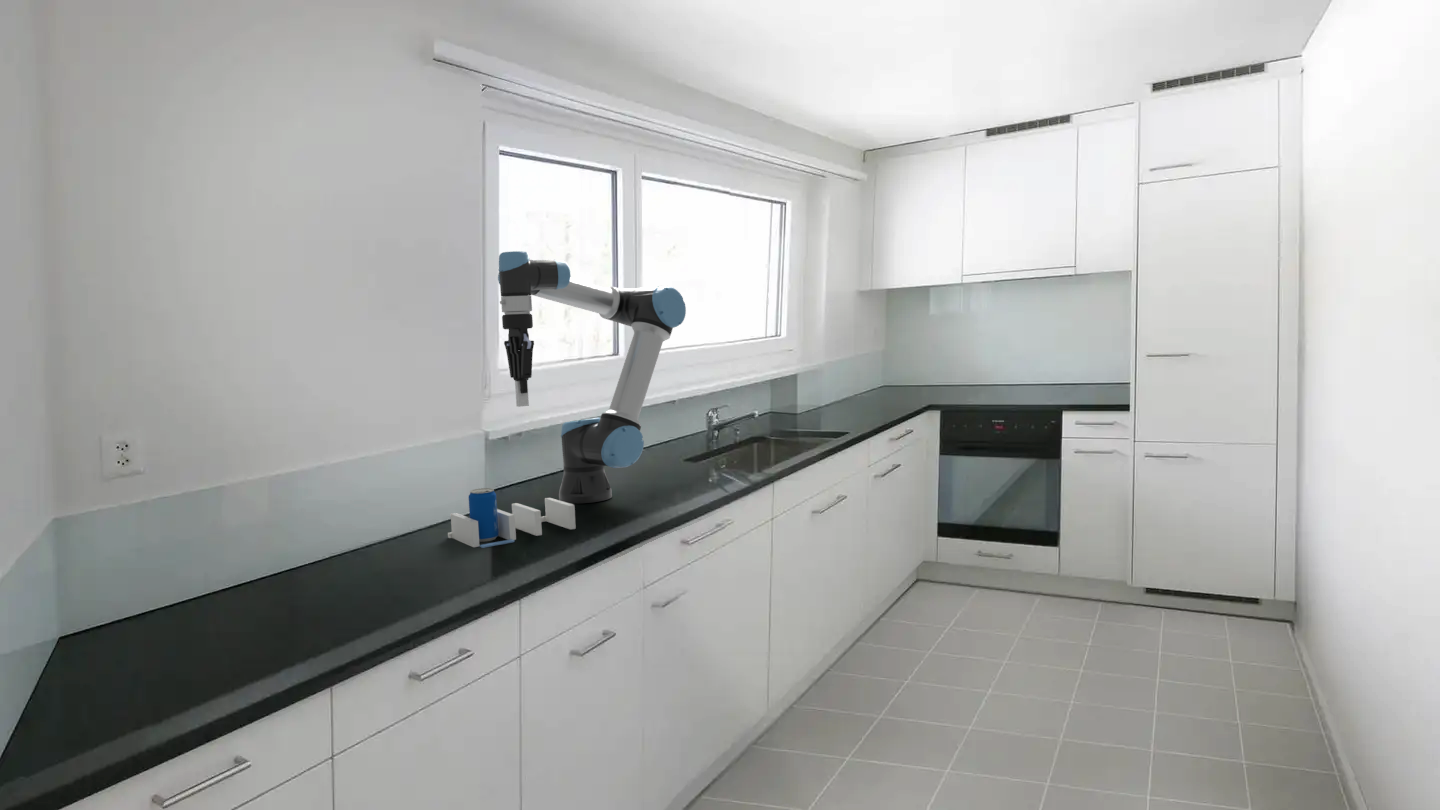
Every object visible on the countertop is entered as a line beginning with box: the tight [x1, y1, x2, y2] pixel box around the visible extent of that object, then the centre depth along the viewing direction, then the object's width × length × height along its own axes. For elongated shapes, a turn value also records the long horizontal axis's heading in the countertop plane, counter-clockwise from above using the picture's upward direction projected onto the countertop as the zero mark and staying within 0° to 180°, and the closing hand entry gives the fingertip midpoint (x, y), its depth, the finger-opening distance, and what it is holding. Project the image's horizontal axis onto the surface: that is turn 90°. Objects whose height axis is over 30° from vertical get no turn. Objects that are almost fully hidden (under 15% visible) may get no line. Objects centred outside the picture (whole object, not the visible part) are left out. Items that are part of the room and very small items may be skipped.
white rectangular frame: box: [447, 497, 577, 548], centre depth 239 cm, size 28×14×6 cm, turn 126°
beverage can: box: [468, 487, 499, 543], centre depth 234 cm, size 6×6×12 cm
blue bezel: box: [479, 539, 515, 549], centre depth 228 cm, size 8×2×1 cm, turn 126°
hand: (522, 405), depth 248 cm, fingers closed
